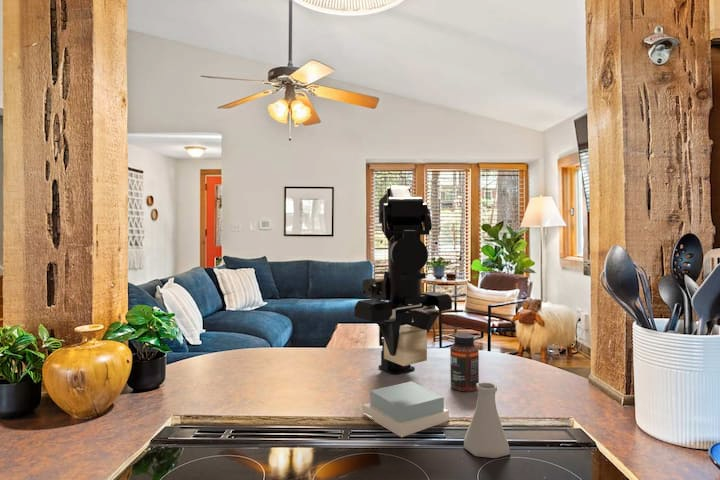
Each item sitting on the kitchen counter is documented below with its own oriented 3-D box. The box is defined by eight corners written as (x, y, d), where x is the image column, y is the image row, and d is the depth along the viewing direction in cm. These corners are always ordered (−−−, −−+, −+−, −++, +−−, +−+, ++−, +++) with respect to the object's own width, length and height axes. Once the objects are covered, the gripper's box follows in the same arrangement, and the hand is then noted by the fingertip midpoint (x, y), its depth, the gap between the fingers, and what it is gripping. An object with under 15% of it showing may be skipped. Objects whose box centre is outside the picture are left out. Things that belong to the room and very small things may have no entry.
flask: (456, 438, 75) (457, 378, 75) (499, 436, 76) (499, 376, 76) (471, 461, 68) (471, 394, 68) (518, 458, 69) (518, 393, 68)
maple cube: (406, 353, 87) (406, 324, 87) (426, 360, 82) (426, 330, 82) (383, 358, 84) (383, 328, 83) (403, 366, 79) (403, 334, 79)
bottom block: (408, 404, 91) (408, 391, 91) (448, 424, 82) (448, 410, 82) (363, 417, 85) (363, 404, 85) (401, 441, 76) (401, 426, 76)
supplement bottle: (481, 385, 100) (481, 333, 99) (475, 394, 94) (476, 340, 94) (453, 381, 102) (453, 330, 102) (447, 390, 97) (447, 337, 96)
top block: (411, 393, 90) (411, 381, 90) (443, 410, 82) (443, 397, 81) (370, 403, 85) (370, 390, 85) (400, 422, 77) (400, 408, 77)
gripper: (414, 260, 94) (414, 335, 95) (337, 266, 84) (337, 350, 84) (454, 265, 85) (453, 348, 86) (373, 271, 74) (373, 366, 75)
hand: (405, 352), depth 83 cm, fingers closed on maple cube, 5 cm apart
